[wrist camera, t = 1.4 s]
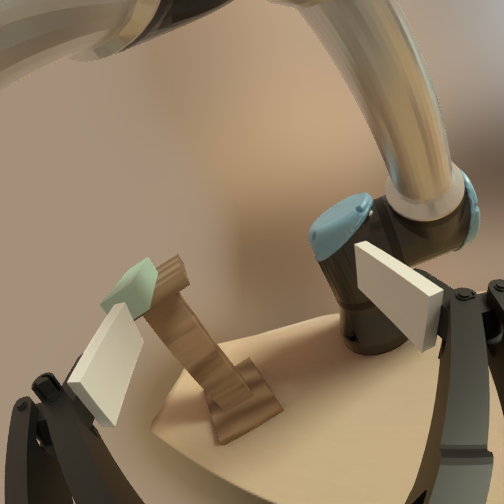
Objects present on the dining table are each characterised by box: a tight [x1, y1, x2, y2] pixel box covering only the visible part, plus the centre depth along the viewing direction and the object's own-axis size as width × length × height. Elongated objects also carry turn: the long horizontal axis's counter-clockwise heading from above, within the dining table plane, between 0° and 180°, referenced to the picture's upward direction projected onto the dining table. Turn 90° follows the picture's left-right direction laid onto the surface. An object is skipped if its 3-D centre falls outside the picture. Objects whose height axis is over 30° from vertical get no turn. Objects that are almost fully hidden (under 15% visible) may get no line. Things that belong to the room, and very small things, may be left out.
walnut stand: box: [134, 254, 284, 445], centre depth 44 cm, size 18×12×28 cm, turn 19°
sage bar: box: [100, 257, 158, 320], centre depth 33 cm, size 19×4×3 cm, turn 19°
